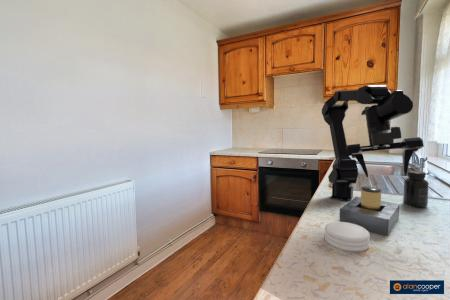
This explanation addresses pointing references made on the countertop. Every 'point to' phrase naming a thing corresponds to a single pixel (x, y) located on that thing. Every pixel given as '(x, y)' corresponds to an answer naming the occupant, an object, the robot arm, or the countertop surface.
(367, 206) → the tan cylinder
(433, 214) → the countertop surface
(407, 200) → the supplement bottle
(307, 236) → the countertop surface
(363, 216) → the housing
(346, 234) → the white flat disc stack
